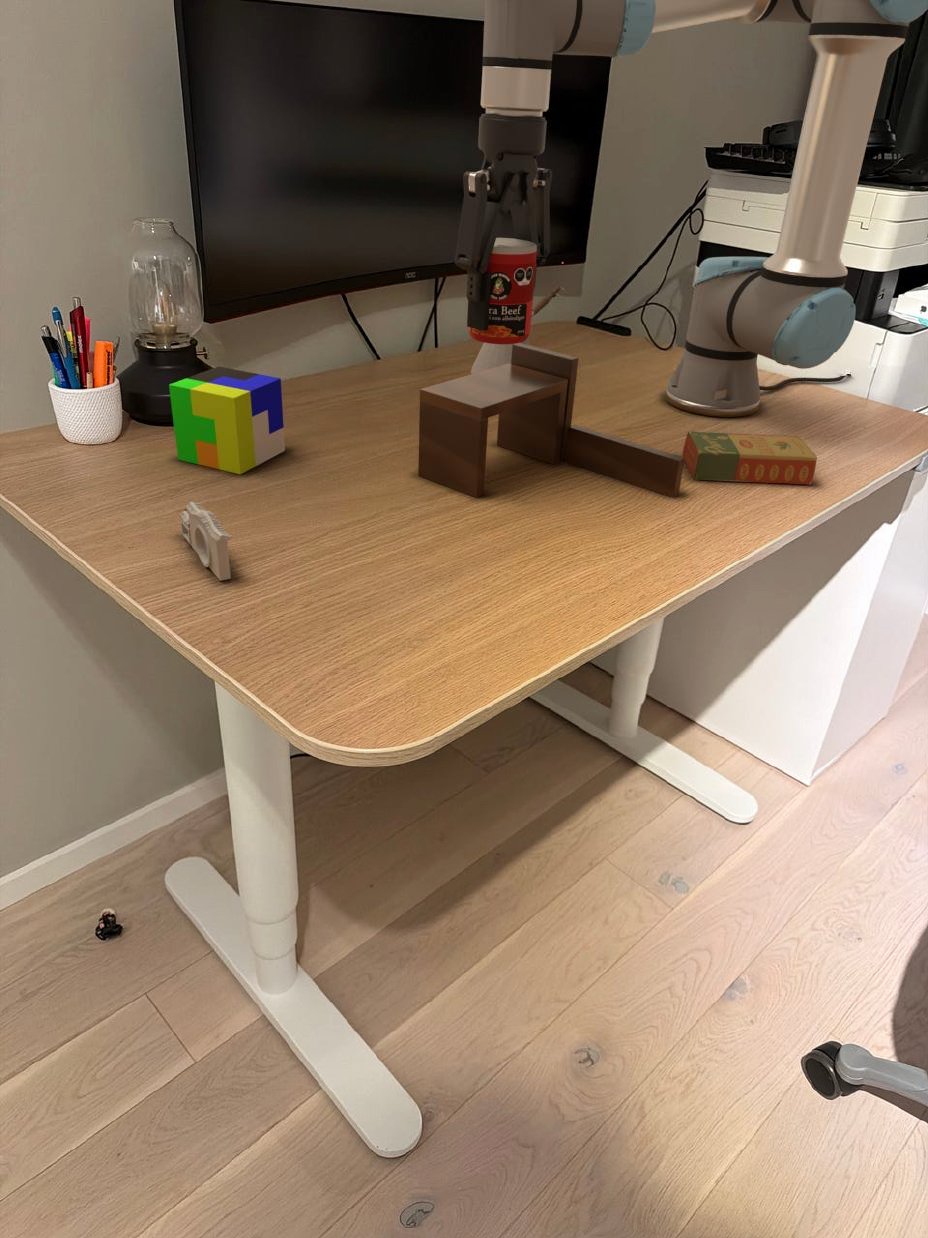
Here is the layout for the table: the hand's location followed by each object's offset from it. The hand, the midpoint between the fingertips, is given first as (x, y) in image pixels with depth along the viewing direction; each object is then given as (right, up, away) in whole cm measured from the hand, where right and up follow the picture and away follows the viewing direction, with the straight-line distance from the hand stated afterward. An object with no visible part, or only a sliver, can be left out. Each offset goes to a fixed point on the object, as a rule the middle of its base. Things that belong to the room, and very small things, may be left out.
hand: (499, 322), depth 113 cm
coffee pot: (+5, +4, +44) cm, 44 cm away
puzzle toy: (-36, -15, +10) cm, 40 cm away
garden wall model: (-32, -30, -16) cm, 47 cm away
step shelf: (+6, -19, +6) cm, 21 cm away
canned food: (0, -2, +1) cm, 2 cm away
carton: (+34, -17, +13) cm, 40 cm away
